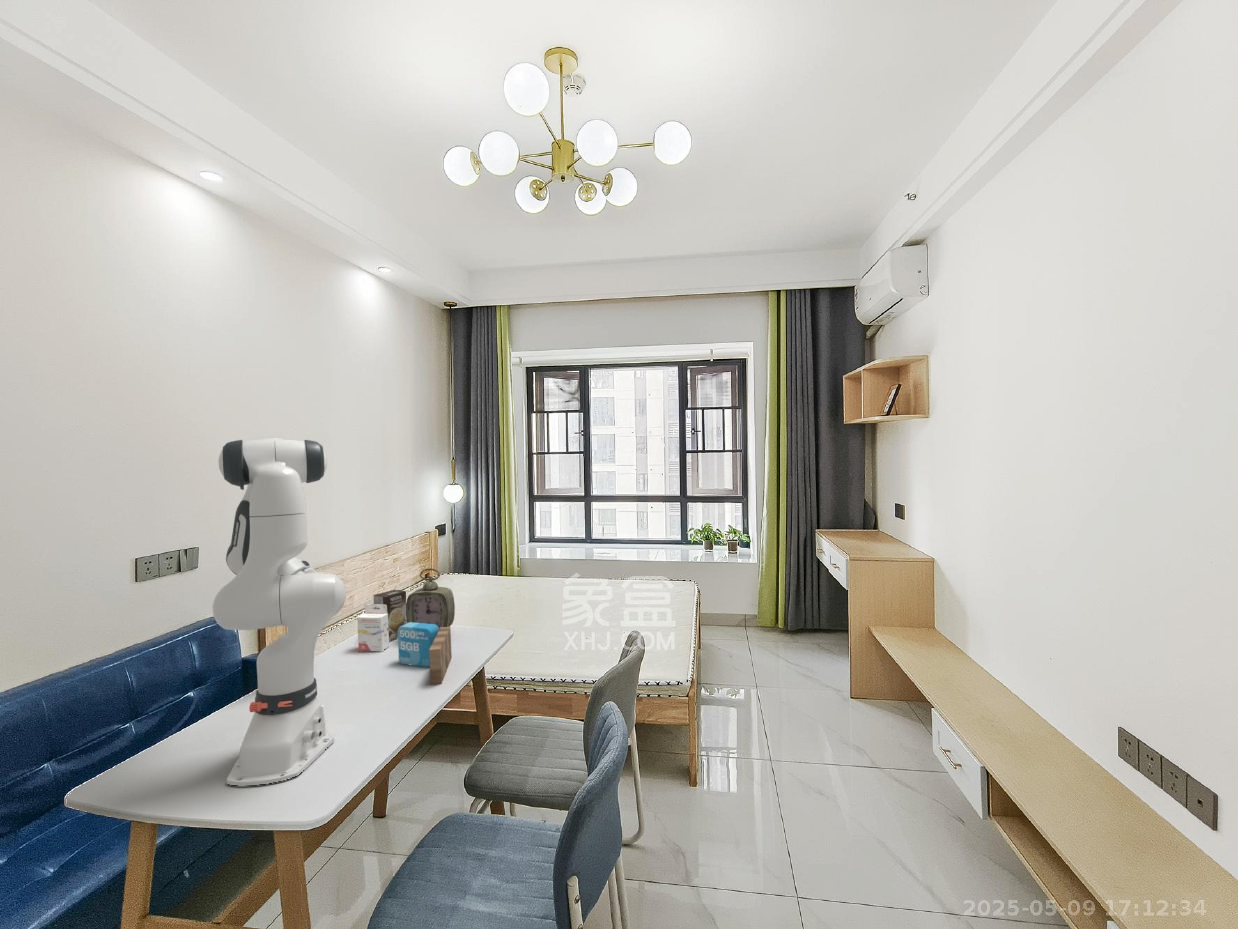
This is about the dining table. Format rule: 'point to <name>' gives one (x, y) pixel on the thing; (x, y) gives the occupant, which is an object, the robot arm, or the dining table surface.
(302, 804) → the dining table surface
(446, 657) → the walnut board
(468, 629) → the dining table surface
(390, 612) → the coffee box
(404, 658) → the data package
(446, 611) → the tabletop clock
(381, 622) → the ink cartridge box
